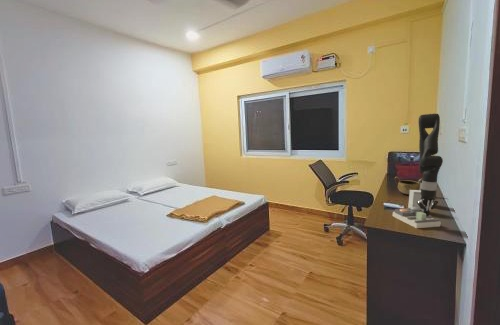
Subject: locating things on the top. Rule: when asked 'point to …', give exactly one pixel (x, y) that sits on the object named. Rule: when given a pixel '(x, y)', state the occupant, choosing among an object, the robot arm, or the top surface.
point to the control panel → (411, 219)
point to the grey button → (415, 209)
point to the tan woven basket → (407, 185)
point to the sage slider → (420, 216)
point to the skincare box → (414, 198)
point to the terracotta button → (403, 210)
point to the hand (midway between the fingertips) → (426, 215)
